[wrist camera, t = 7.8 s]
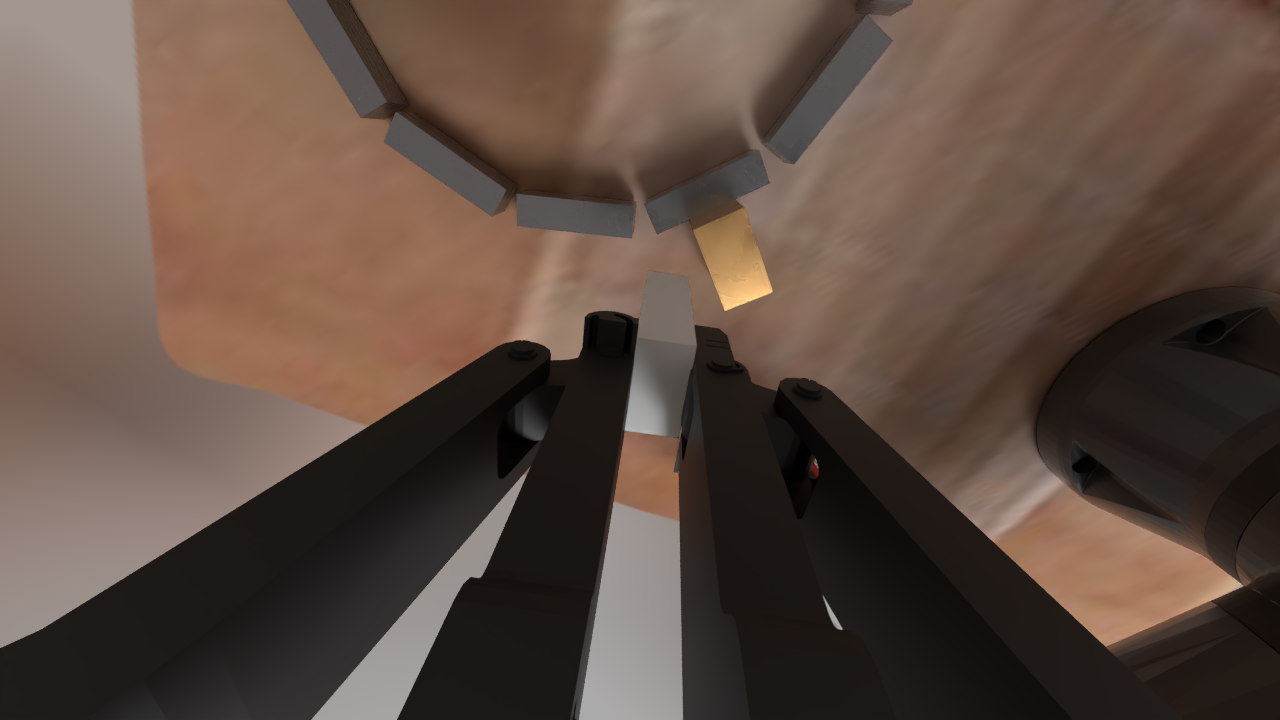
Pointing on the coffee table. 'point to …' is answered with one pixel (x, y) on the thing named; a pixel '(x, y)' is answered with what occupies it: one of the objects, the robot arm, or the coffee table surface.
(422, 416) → the robot arm
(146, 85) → the coffee table surface
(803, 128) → the bezel
